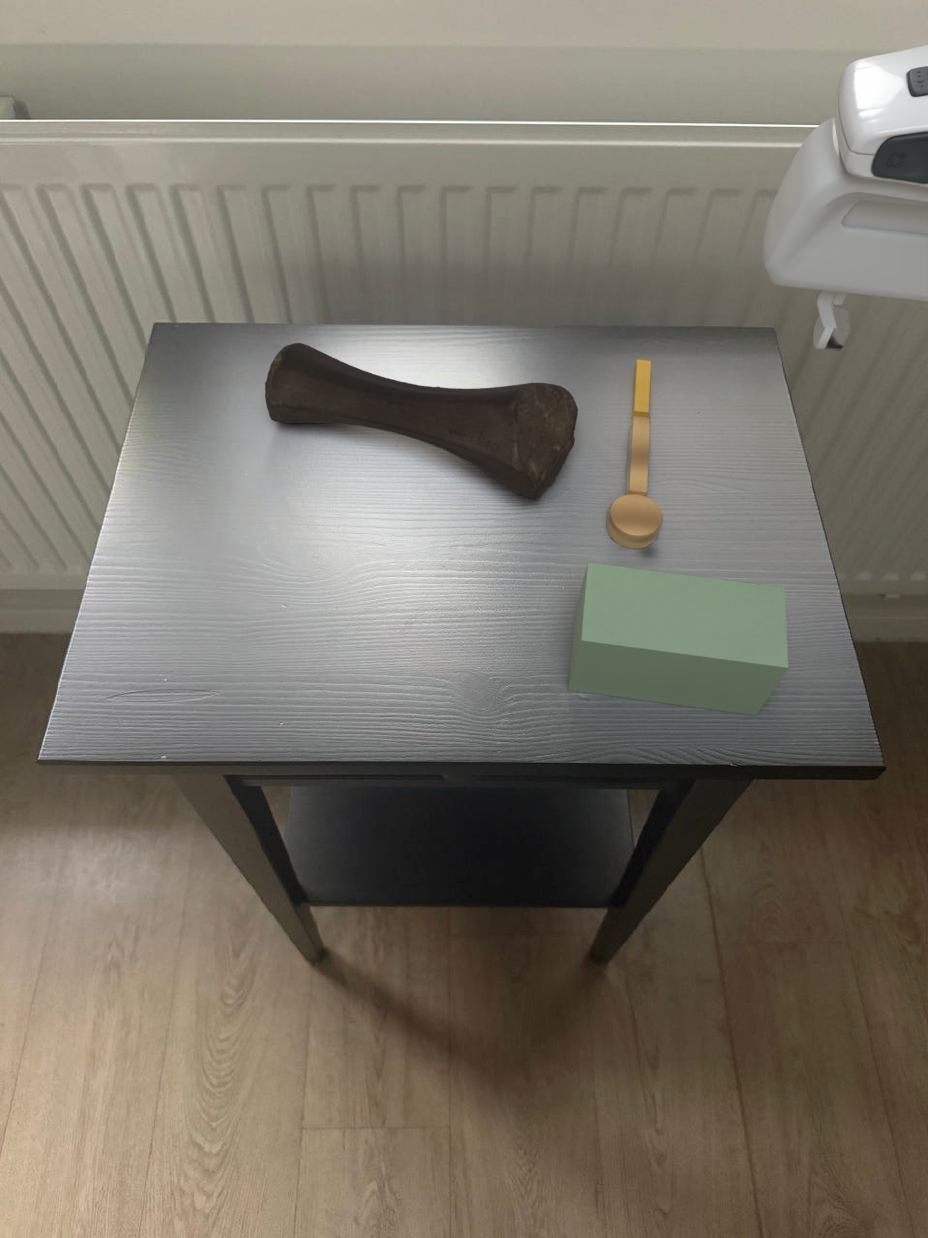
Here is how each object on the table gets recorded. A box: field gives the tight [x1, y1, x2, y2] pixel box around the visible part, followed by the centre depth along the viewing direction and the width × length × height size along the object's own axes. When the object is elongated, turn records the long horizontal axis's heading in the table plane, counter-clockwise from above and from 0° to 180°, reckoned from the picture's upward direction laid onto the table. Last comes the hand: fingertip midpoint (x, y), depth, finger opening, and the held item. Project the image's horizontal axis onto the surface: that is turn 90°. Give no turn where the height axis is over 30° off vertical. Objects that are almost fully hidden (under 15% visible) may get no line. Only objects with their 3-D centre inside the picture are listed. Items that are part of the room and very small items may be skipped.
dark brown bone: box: [264, 342, 579, 501], centre depth 85 cm, size 11×10×28 cm
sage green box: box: [567, 562, 790, 716], centre depth 73 cm, size 15×7×8 cm, turn 82°
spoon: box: [606, 416, 663, 550], centre depth 85 cm, size 14×5×2 cm, turn 172°
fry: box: [631, 359, 652, 420], centre depth 92 cm, size 1×7×1 cm, turn 172°
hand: (907, 352), depth 55 cm, fingers open, 8 cm apart
